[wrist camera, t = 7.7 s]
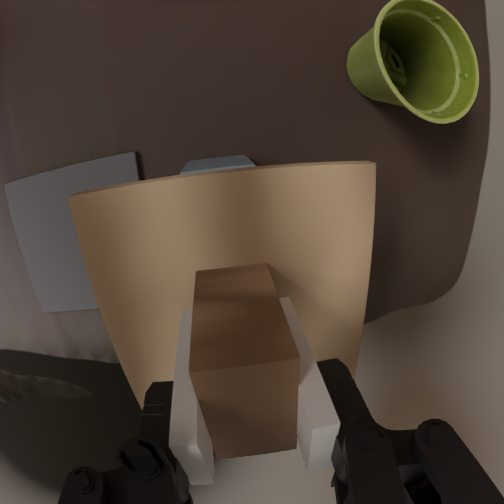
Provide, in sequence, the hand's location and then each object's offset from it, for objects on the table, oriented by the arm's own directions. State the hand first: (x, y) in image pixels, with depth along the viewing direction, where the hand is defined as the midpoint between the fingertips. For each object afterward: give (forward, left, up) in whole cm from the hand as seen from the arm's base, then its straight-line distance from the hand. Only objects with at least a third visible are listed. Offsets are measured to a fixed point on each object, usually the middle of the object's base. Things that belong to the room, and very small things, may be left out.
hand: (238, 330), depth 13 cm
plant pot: (+14, +13, -15) cm, 25 cm away
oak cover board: (0, 0, -2) cm, 2 cm away
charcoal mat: (-14, 0, -15) cm, 20 cm away
